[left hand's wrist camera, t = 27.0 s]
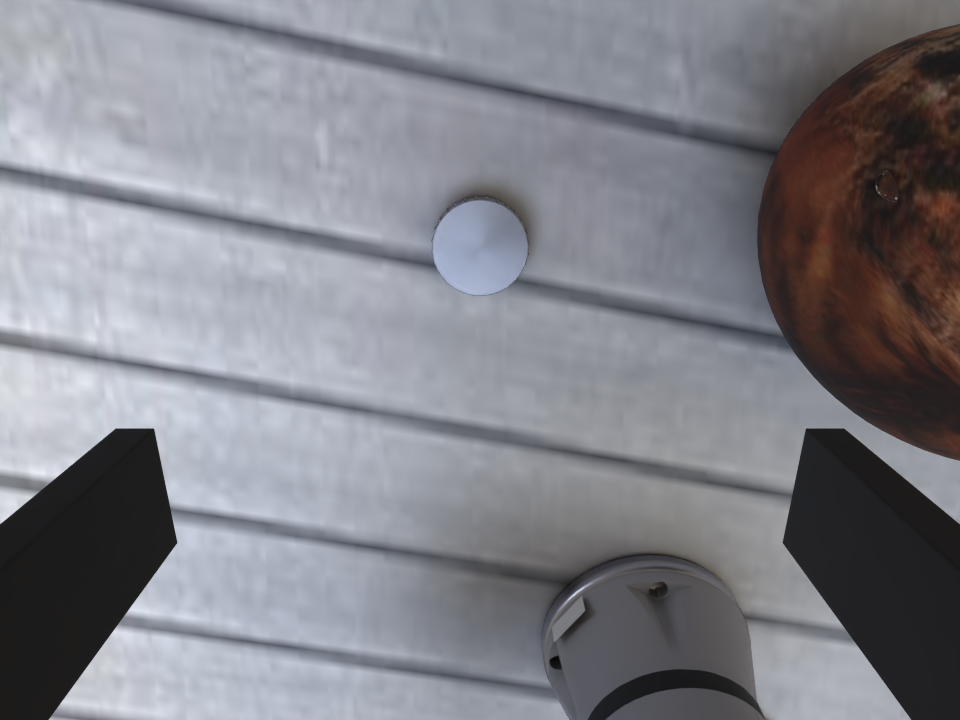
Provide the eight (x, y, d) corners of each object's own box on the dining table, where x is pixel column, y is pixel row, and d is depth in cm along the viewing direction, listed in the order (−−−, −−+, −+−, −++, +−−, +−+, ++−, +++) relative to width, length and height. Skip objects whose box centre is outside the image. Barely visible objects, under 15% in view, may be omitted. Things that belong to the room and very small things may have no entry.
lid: (485, 307, 39) (486, 315, 37) (414, 249, 38) (411, 255, 36) (546, 237, 37) (549, 243, 36) (474, 174, 36) (473, 177, 35)
